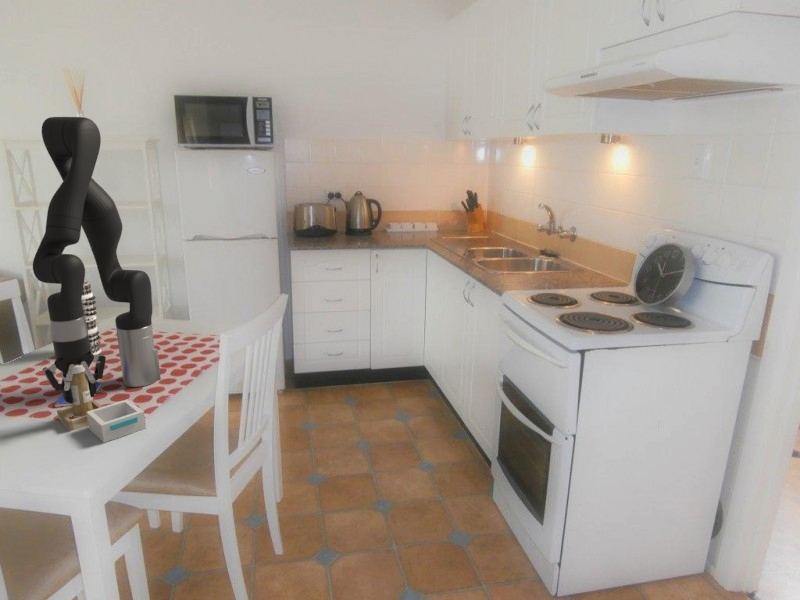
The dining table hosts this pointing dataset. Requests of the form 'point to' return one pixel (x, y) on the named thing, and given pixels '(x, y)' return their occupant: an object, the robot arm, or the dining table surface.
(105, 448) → the dining table surface
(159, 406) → the dining table surface
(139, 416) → the block
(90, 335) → the decorative candle
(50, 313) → the robot arm
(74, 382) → the sprinkles bottle
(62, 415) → the wooden square frame
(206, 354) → the dining table surface
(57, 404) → the hard drive
